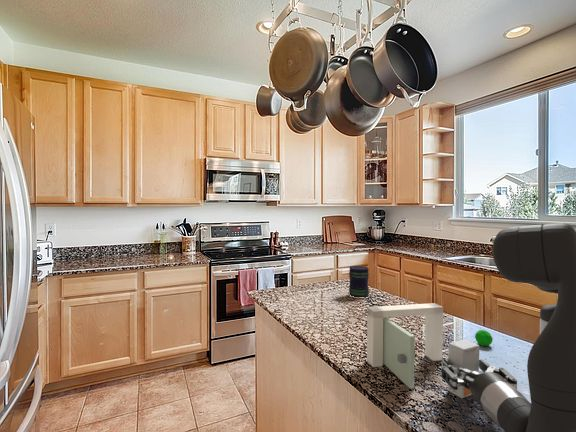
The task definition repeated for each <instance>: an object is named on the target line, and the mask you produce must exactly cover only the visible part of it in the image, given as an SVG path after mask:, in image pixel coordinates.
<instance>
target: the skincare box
mask: <svg viewBox="0 0 576 432" xmlns="http://www.w3.org/2000/svg"><path fill="white" fill-rule="evenodd" d="M447 359H448V360H449V361H450V362H451V363H452V364H453V366H455V367H458V368H459V367H463V368H466V369H468V370H470V371H480V368H479V360H480V344H478V343H474V342H472V341H470V340H468V339H462V340H455V341H453V342H449V343H448V357H447ZM454 374H455V375H457V372H456V371H454ZM465 374H466V373H464V372H463V378H464V376H465ZM447 391H448V392H450V393H452V394H454V395H455V396H457V397H459V398H460V399H464V398H467V397H470V396H473V395H472V393H471V391H470V390H468V389H466V388H465V387H464V386H458V389H457V390H454V389H452V388H451V387H450V386H449V385H448V384H447Z"/></svg>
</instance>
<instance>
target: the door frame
mask: <svg viewBox="0 0 576 432" xmlns="http://www.w3.org/2000/svg"><path fill="white" fill-rule="evenodd" d="M366 309H367V311H366V312H367V313H366V314H367V316H366V318H367V319H366V320H367V321H366V324H367V325H366V339H367V340H366V362H368V364H369V365H370V366H371V367H372V368H379V367H383V365H384V363H383V318H396V317H397V318H398V317H399V318H400V317H411V316H412V317H414V316H415V317H416V316H425V328H424V329H425V331H424V332H425V333H424V334H425V336H424V338H425V340H424V353H425V354H424V356H425V357H427V358H428V359H430V360H431V361H433V362H436V361H443V344H444V343H443V335H444V334H443V333H444V331H443V330H444V329H443V328H444V327H443V325H444V307H443V306H441V305H439V304H437V303H434V302H432V303H429V302H428V303H417V304H416V303H415V304H413V303H412V304H398V305H397V304H396V305H384V306H383V305H382V306H368V307H367V308H366Z"/></svg>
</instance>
